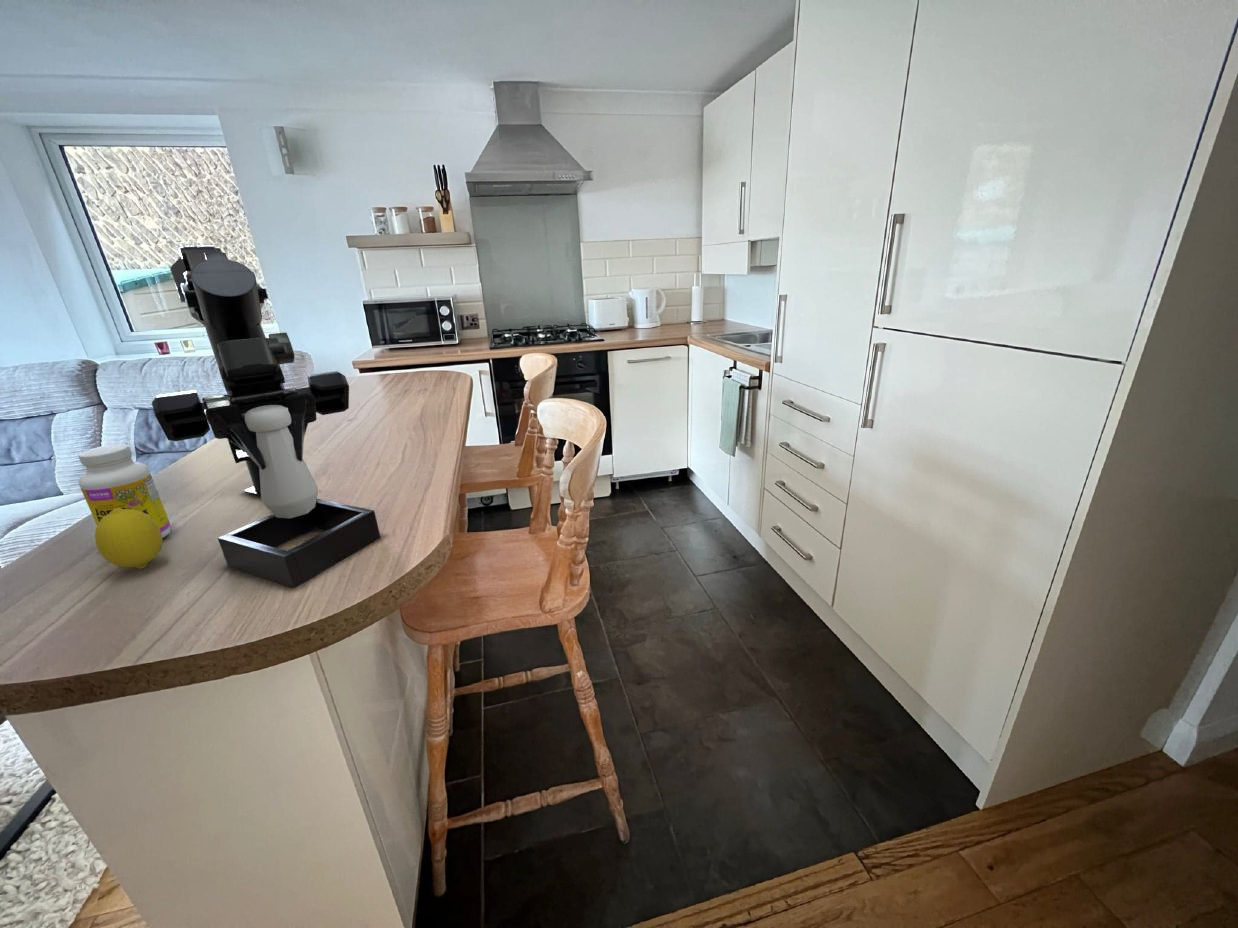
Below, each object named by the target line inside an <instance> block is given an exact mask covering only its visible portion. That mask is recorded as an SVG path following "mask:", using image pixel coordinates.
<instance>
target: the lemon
mask: <svg viewBox="0 0 1238 928" xmlns="http://www.w3.org/2000/svg"><path fill="white" fill-rule="evenodd" d="M94 540H95V545H96V548H97V550H98V553H99V554H100V555H101V556H102V558H103V559H104V560H106V561H107V562H108V563H110V564H112V565H114V566H117V567H121V568H135V569H138V570H140V569H144V568H146V567H147V565H148V564H149V562H151V561H152V560H154V559H155V558H156V557H157V556H158V554H159V553H160V552H161V550H162V545H163V538H162V534H161V531H160V529H159V527H158V526H157V524H156V523H155V522H154V520H153V519H152V518H151V517H150V516H148V515H147V514H145V513H143V512H141V511H137V510H132V509H122V508H116V509H113V511H112V512H111V513H110V514H108V515H106V516H105V517H104V518H102V520H101V521H100V522H99V523H98V525H97V524H96V527H95V530H94Z"/></svg>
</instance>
